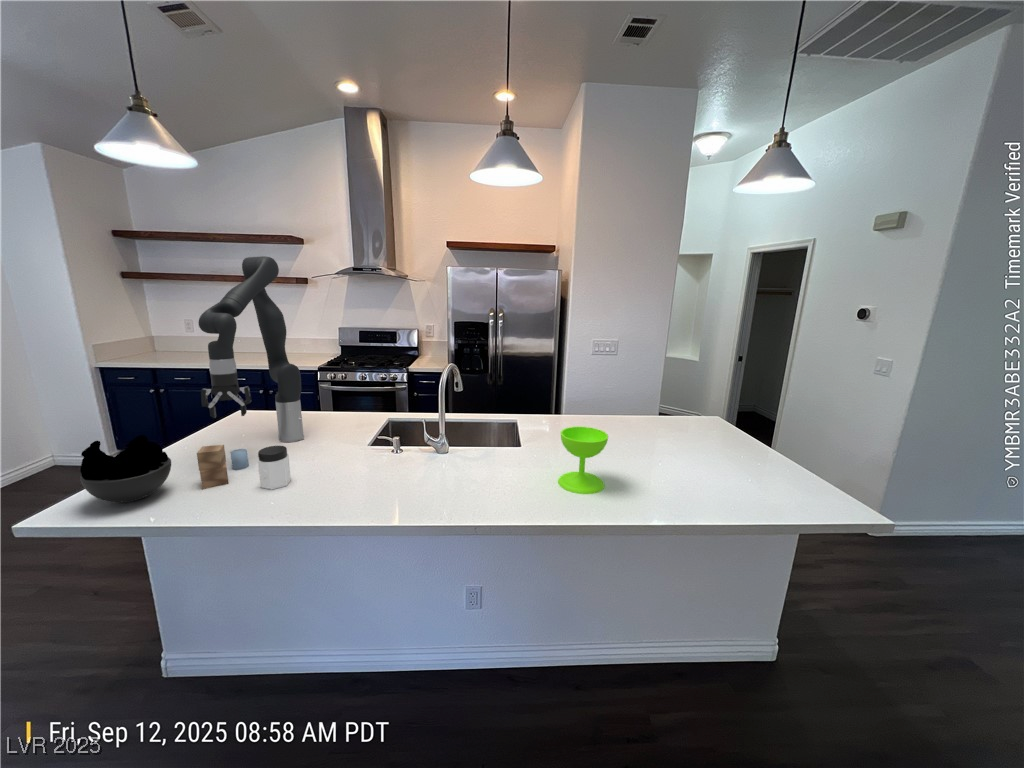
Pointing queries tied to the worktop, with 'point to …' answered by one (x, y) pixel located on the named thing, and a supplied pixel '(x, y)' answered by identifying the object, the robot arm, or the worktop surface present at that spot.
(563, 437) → the wineglass
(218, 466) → the tower mid
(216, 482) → the tower base
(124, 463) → the coal bowl
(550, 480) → the worktop surface
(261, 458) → the jar
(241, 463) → the blue grey cylinder
